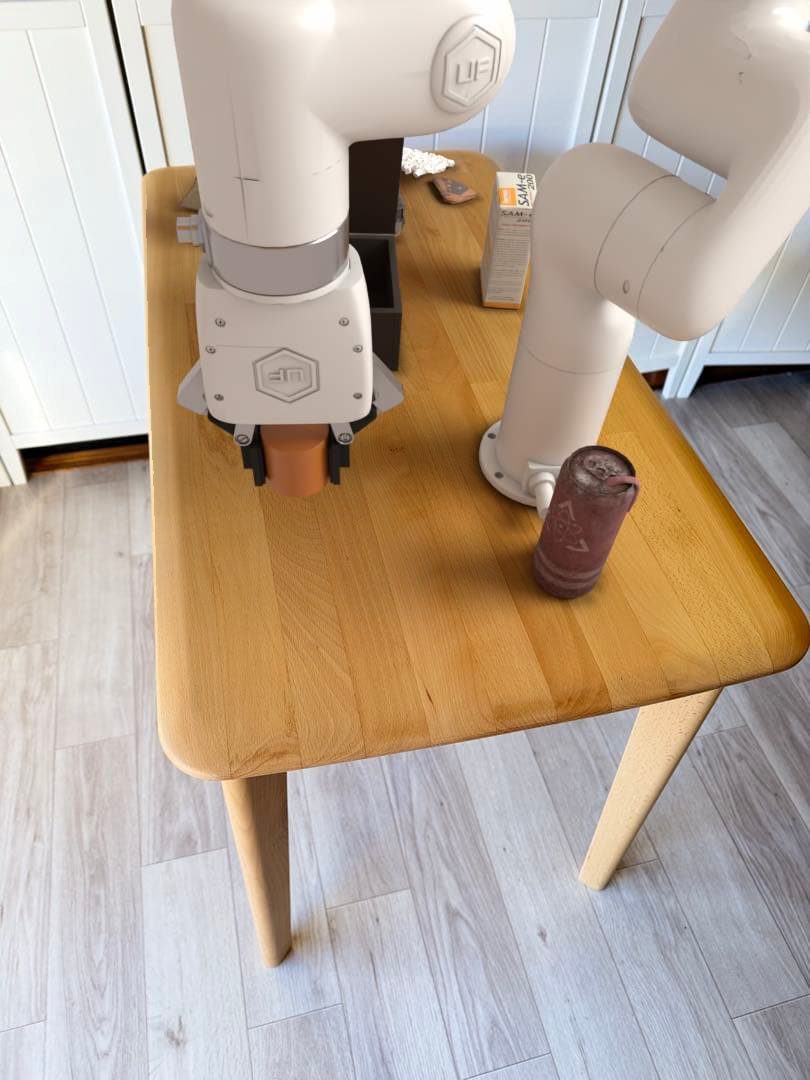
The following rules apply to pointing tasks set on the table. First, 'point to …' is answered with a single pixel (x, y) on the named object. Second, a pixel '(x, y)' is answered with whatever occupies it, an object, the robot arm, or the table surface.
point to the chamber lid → (374, 185)
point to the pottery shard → (453, 190)
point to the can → (583, 520)
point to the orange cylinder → (296, 457)
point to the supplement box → (507, 240)
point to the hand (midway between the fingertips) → (298, 469)
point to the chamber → (382, 294)
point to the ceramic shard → (192, 198)
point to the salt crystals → (423, 162)
